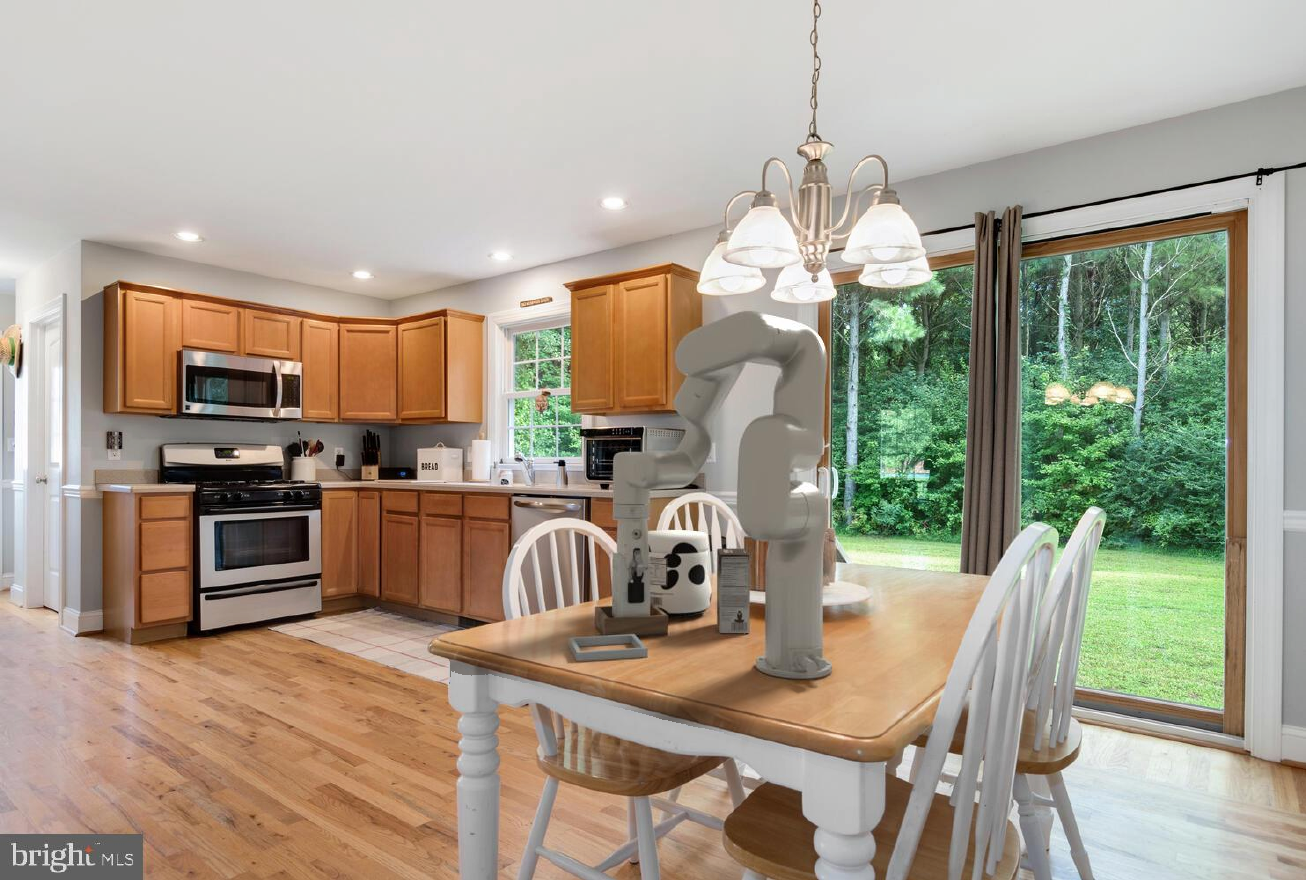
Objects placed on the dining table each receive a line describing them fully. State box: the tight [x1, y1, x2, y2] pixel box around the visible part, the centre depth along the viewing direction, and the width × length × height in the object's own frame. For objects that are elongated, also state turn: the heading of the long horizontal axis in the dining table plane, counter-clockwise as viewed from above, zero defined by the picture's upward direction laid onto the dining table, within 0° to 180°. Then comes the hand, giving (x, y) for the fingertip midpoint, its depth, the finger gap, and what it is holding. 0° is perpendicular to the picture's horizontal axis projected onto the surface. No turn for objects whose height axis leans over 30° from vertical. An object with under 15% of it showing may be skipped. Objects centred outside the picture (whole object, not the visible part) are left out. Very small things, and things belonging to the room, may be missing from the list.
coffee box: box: [716, 548, 751, 635], centre depth 153 cm, size 9×6×16 cm
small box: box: [611, 552, 650, 618], centre depth 151 cm, size 8×6×13 cm
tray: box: [568, 634, 649, 662], centre depth 135 cm, size 11×13×2 cm
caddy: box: [594, 604, 669, 639], centre depth 151 cm, size 12×13×4 cm
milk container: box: [648, 529, 713, 618], centre depth 168 cm, size 17×17×18 cm
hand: (631, 598), depth 151 cm, fingers closed on small box, 8 cm apart
